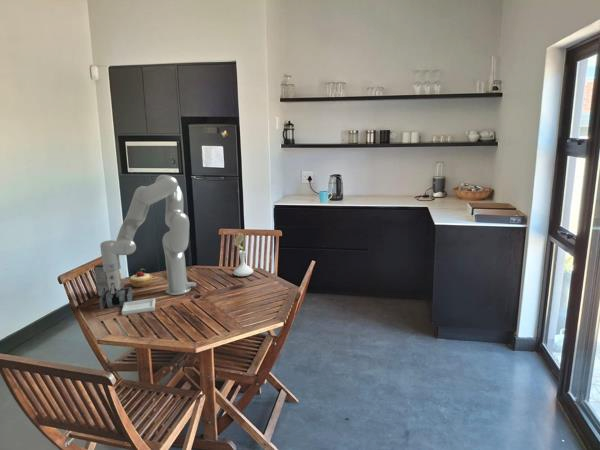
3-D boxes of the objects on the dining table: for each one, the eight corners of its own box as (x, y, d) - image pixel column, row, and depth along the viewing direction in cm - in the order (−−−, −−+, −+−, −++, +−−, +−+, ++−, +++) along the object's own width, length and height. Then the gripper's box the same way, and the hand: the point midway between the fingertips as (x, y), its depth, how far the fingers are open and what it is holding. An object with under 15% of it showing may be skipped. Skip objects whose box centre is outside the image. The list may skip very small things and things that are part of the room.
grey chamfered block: (126, 301, 220) (124, 289, 218) (125, 304, 215) (123, 293, 214) (108, 303, 218) (107, 292, 216) (107, 307, 213) (105, 295, 212)
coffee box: (108, 289, 239) (104, 260, 235) (119, 290, 237) (115, 260, 234) (97, 295, 230) (93, 265, 227) (109, 296, 228) (104, 265, 225)
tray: (155, 302, 217) (155, 298, 217) (154, 311, 206) (154, 306, 205) (124, 306, 213) (124, 302, 213) (122, 315, 202) (121, 311, 202)
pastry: (125, 288, 241) (123, 272, 239) (141, 281, 252) (138, 265, 250) (143, 289, 237) (140, 273, 235) (158, 282, 247) (155, 266, 245)
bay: (133, 296, 227) (131, 286, 226) (130, 305, 214) (129, 295, 213) (104, 300, 223) (103, 290, 222) (100, 309, 210) (99, 299, 209)
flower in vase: (232, 273, 258) (229, 230, 253) (252, 270, 260) (249, 228, 255) (234, 279, 245) (231, 235, 240) (255, 277, 248) (252, 233, 243)
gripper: (118, 270, 205) (123, 307, 209) (122, 261, 221) (126, 295, 225) (100, 272, 203) (106, 310, 207) (105, 262, 219) (110, 297, 223)
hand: (116, 302), depth 216 cm, fingers closed on grey chamfered block, 5 cm apart
